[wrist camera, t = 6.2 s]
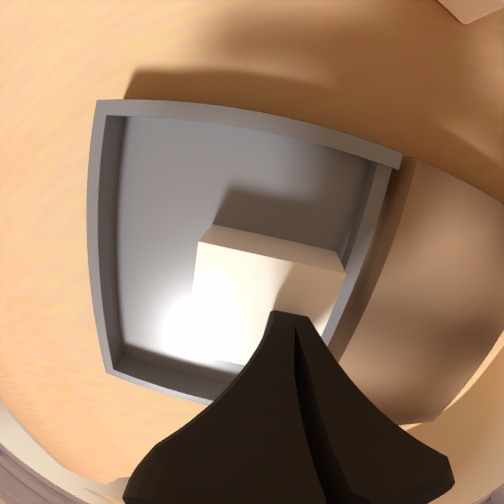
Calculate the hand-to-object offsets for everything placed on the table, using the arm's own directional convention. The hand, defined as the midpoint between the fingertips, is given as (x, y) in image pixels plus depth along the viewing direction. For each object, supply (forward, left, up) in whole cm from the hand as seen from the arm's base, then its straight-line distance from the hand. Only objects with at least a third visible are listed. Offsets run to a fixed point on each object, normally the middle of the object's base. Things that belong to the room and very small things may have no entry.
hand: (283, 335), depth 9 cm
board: (0, -8, -3) cm, 9 cm away
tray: (0, +3, -3) cm, 4 cm away
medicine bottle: (+20, -4, -3) cm, 21 cm away
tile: (0, +1, -2) cm, 3 cm away
